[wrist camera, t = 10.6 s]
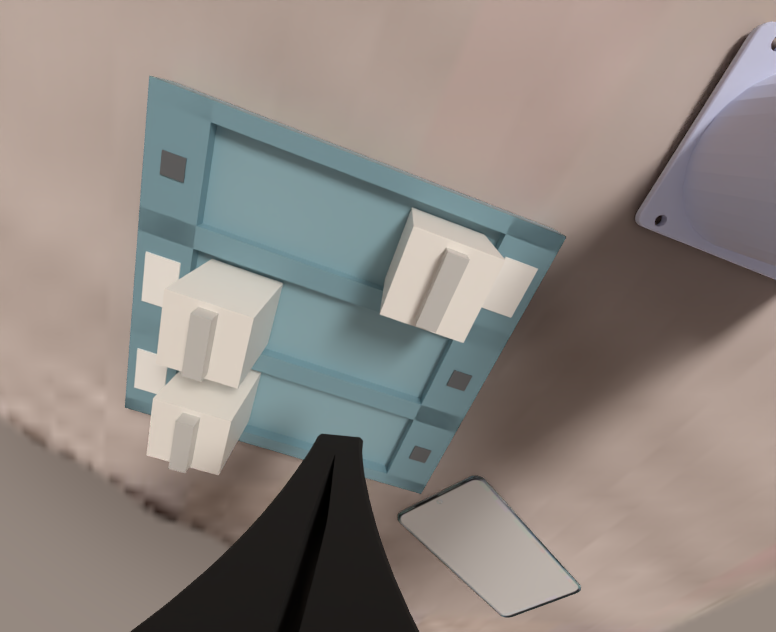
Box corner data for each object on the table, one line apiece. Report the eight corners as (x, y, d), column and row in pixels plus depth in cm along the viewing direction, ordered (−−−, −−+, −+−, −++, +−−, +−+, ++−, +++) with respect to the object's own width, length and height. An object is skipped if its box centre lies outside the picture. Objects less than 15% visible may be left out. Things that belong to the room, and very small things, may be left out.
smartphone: (505, 619, 31) (393, 517, 27) (503, 612, 32) (393, 510, 27) (584, 590, 29) (479, 474, 25) (581, 583, 30) (477, 468, 25)
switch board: (553, 229, 18) (567, 237, 17) (420, 473, 25) (421, 494, 24) (172, 81, 16) (148, 75, 15) (142, 390, 23) (123, 408, 22)
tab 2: (261, 372, 21) (225, 430, 17) (248, 420, 22) (213, 485, 18) (197, 352, 20) (144, 406, 16) (189, 403, 22) (138, 464, 18)
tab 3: (484, 234, 17) (509, 265, 13) (452, 303, 19) (465, 350, 15) (412, 207, 17) (414, 229, 13) (384, 279, 18) (378, 321, 14)
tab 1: (283, 283, 19) (248, 324, 14) (267, 343, 20) (232, 397, 16) (211, 258, 18) (155, 294, 14) (201, 322, 20) (147, 371, 16)
